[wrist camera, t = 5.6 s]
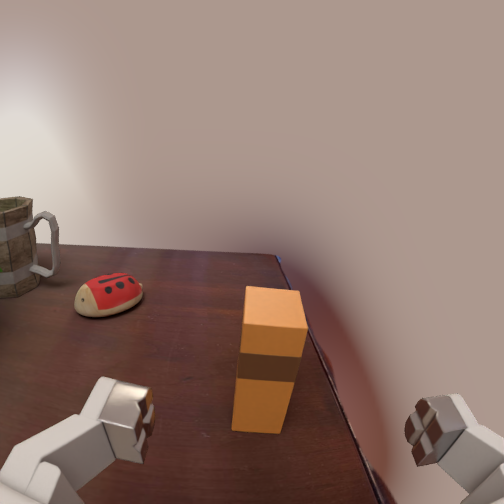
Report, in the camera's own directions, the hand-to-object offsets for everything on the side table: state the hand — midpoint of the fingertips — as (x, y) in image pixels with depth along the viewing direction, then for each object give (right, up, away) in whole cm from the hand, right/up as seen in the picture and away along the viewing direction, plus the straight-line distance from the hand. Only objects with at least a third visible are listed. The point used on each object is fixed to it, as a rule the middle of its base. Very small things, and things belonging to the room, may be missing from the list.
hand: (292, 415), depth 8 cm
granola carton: (-1, -9, +17) cm, 20 cm away
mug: (-35, 0, +31) cm, 47 cm away
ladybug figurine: (-20, -2, +30) cm, 36 cm away
